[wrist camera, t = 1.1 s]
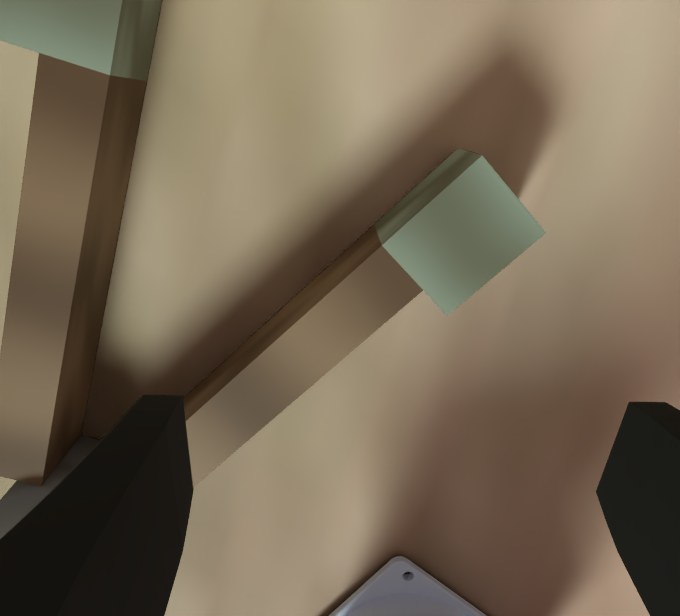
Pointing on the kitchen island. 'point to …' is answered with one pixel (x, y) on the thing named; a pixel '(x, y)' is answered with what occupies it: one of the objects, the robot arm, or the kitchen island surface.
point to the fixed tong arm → (66, 227)
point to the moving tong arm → (363, 299)
